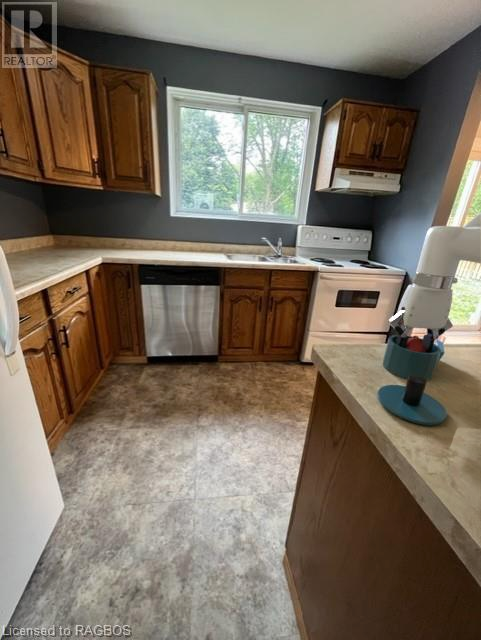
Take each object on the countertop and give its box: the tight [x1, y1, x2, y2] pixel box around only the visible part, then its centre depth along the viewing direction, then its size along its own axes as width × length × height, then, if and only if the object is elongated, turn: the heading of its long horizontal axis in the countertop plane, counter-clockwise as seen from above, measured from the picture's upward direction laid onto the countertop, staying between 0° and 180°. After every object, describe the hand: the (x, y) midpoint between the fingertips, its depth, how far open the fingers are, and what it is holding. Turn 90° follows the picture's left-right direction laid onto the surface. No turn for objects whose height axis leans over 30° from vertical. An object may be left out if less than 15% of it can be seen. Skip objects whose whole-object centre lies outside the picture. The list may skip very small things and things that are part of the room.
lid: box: [376, 375, 447, 426], centre depth 56 cm, size 12×12×7 cm
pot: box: [382, 334, 441, 382], centre depth 70 cm, size 11×11×8 cm
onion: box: [405, 334, 426, 353], centre depth 70 cm, size 6×6×8 cm
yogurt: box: [434, 339, 445, 364], centre depth 74 cm, size 12×2×6 cm, turn 145°
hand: (412, 350), depth 70 cm, fingers closed on onion, 5 cm apart
